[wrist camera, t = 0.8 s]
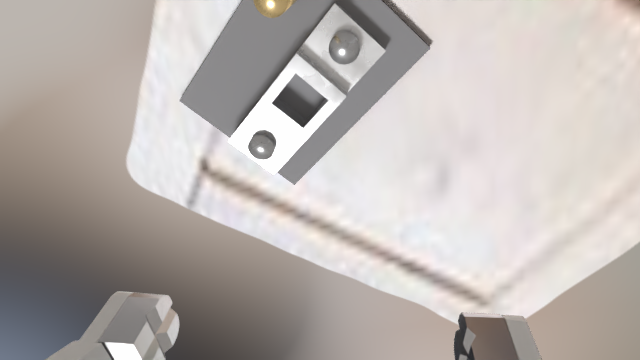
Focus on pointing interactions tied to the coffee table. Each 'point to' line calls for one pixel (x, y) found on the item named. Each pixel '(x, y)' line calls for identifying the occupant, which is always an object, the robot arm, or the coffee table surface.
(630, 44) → the coffee table surface
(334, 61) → the slotted latch plate
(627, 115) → the coffee table surface
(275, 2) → the brass pin
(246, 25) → the gray base plate
